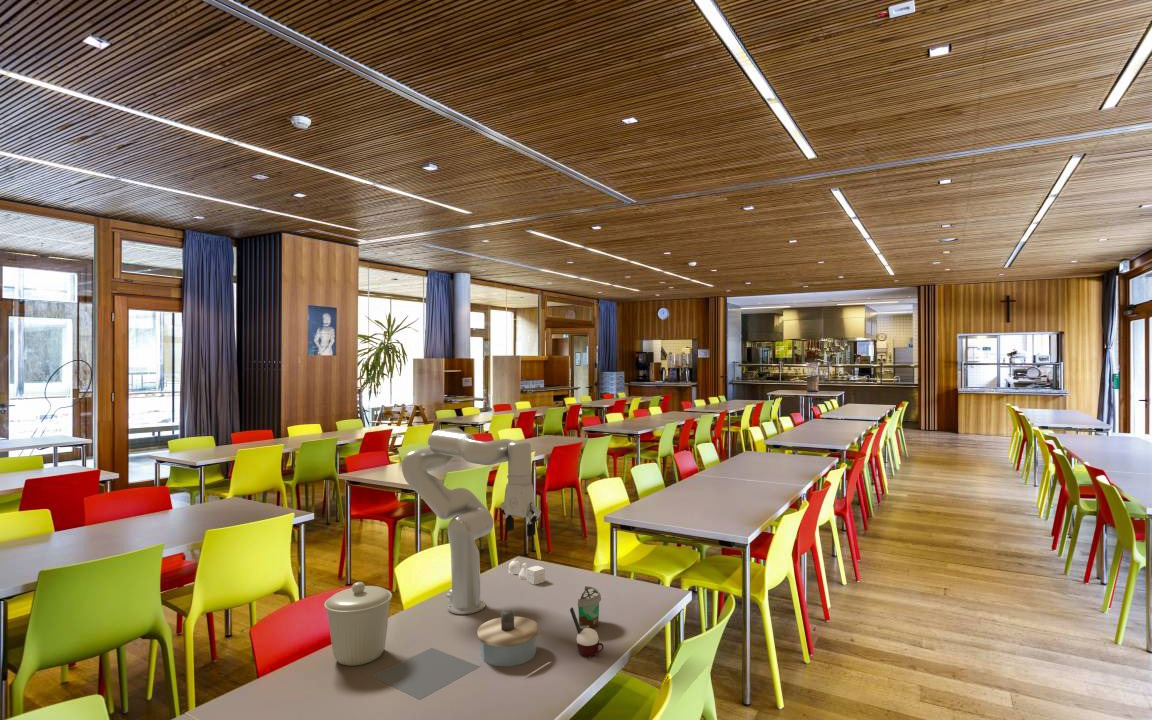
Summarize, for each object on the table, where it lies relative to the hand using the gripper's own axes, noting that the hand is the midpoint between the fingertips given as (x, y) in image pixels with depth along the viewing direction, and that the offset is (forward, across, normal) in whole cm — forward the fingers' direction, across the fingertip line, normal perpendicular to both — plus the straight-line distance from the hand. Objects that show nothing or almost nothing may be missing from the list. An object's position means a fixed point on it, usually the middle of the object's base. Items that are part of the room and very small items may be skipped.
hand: (520, 533), depth 195 cm
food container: (+27, +21, +10) cm, 36 cm away
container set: (+29, -27, +30) cm, 50 cm away
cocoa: (+27, +32, -6) cm, 42 cm away
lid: (+21, +14, -20) cm, 32 cm away
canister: (+28, -18, -46) cm, 57 cm away
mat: (+28, +4, -40) cm, 49 cm away
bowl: (+27, +14, -20) cm, 37 cm away
